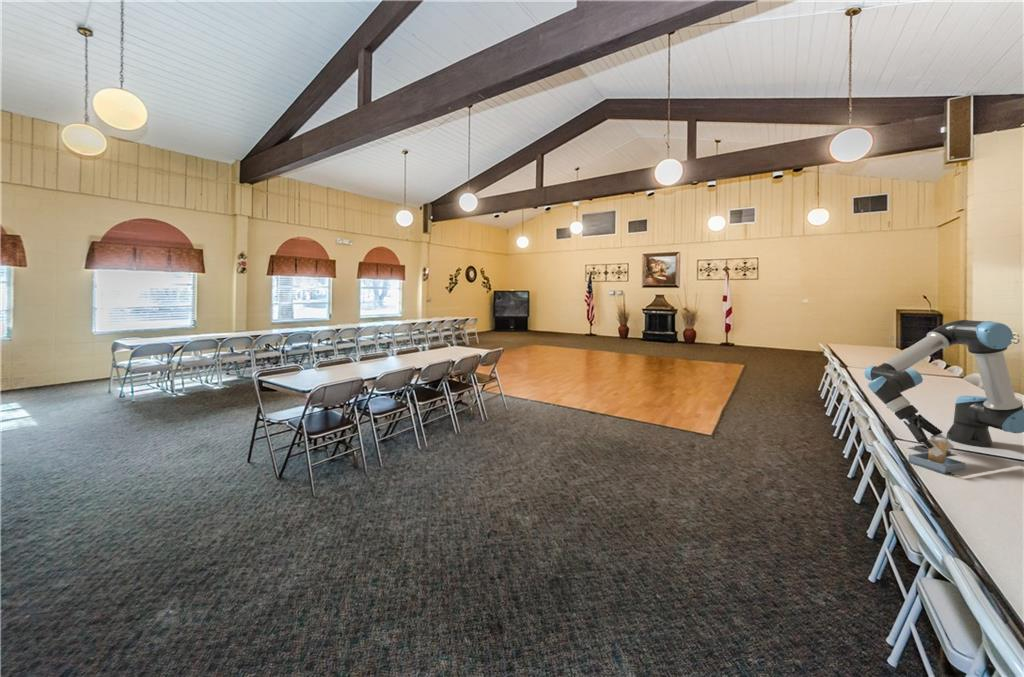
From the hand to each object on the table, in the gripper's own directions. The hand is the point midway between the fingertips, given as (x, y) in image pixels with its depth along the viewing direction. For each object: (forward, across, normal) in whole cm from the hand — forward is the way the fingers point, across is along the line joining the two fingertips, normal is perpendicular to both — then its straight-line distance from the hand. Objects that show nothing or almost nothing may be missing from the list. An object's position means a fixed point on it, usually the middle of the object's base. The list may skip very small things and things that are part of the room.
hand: (945, 451), depth 170 cm
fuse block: (0, -18, -11) cm, 21 cm away
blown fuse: (+3, 0, -6) cm, 7 cm away
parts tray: (+4, 0, -7) cm, 8 cm away
